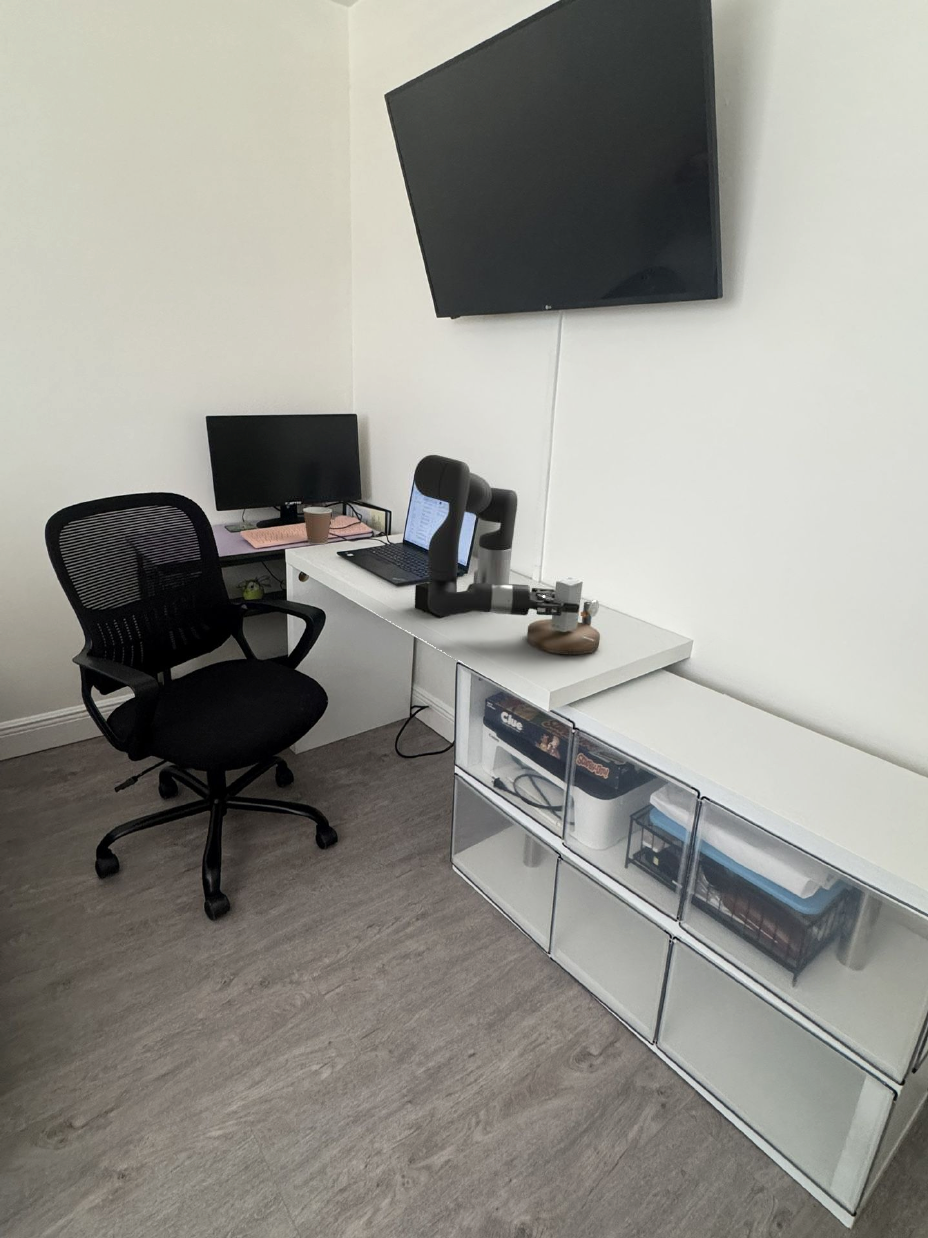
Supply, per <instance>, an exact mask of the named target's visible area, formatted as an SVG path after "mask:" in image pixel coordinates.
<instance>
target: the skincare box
mask: <svg viewBox="0 0 928 1238" xmlns="http://www.w3.org/2000/svg"><path fill="white" fill-rule="evenodd" d="M554 590H555V597H554V599H555V600H556V601H558V602H562V603H577V604H578V605H579V609H580V605H581V599H582V598H581V597H582V590H583V580H580V579H575V578H571V577H568V578H562V579H560V580H557V581H556V583H555V589H554ZM555 609H557V608H555ZM579 615H580V610H579V611H578V613H568V612H563V613H561V616H554V615H551V616H552V617H551V619H552V623H551V628H553V629H556V630H559V631H562V632H566V631H569V630H572V629H574V628H576V627H577V624H578V622H579Z"/></svg>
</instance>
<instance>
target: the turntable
mask: <svg viewBox="0 0 928 1238" xmlns="http://www.w3.org/2000/svg"><path fill="white" fill-rule="evenodd" d="M551 623H552V618H549V619H547V618H545V619H540V620H537V621H536V620H535V621H533V622H531V623H529V625H528V626H527V635H526V639H527V642H528V643H530V644H531V645H533V646H534V647H536V648H539V649H540V650H543V651H547V652H551V653H557V654H561V655H562V654H563V655H582V654H583V655H584V654H589V653H592V652H594V651H596V650H597V649H599V647H600V639H601V634H600V632H599V631H598V630H597V629H595V628H594V627H593V626H592V625H591V626H589V625H586V624H583V623H582V622H580V621H578V624H577V627H576V628H574V629H572V630H569V631H566V632H562V631H559V630H556V629H553V628H551Z"/></svg>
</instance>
